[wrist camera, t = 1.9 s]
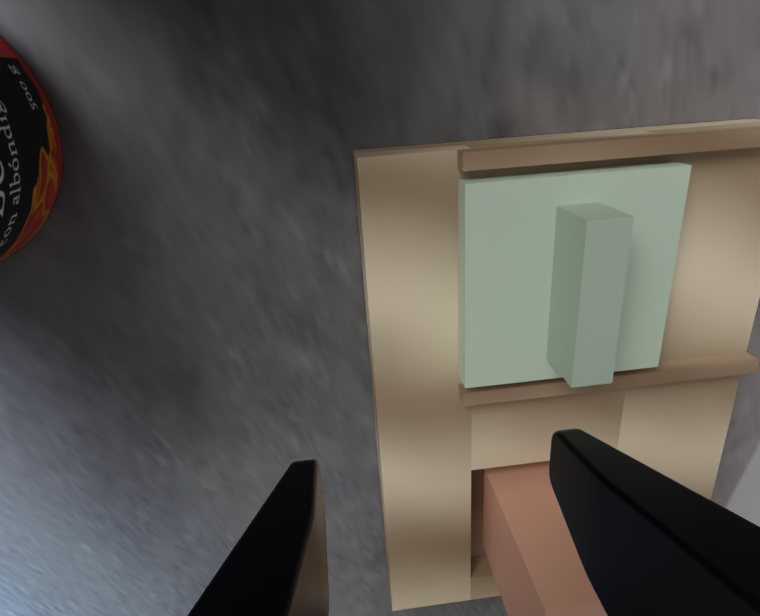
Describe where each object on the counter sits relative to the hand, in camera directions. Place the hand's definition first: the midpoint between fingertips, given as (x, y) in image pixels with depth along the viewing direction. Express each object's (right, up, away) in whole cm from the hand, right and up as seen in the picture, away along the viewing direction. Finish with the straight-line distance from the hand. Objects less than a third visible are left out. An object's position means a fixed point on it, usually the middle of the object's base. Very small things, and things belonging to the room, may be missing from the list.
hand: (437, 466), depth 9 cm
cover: (+5, +4, +8) cm, 10 cm away
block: (+5, -5, +12) cm, 14 cm away
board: (+5, 0, +12) cm, 13 cm away
